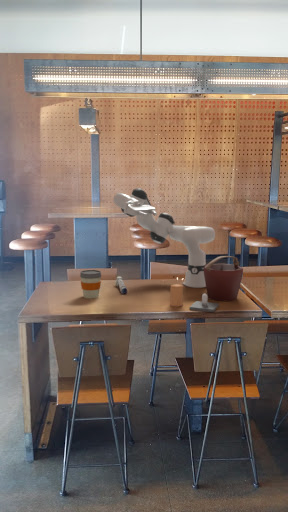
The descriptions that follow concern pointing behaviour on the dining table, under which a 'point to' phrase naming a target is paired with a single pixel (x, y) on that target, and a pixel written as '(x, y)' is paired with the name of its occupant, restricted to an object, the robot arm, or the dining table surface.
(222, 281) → the bucket
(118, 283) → the white blue cylinder
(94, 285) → the reusable coffee cup
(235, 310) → the dining table surface
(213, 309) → the post base
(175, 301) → the tan upright cylinder
